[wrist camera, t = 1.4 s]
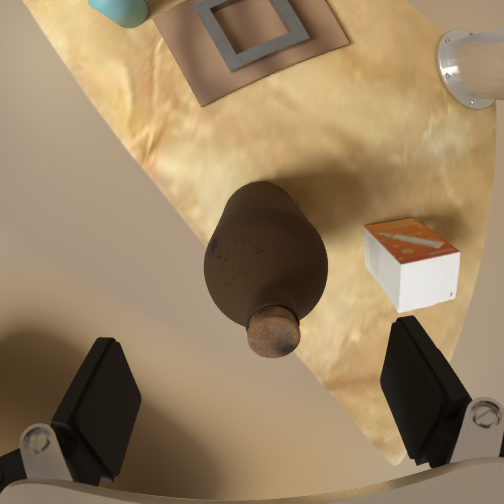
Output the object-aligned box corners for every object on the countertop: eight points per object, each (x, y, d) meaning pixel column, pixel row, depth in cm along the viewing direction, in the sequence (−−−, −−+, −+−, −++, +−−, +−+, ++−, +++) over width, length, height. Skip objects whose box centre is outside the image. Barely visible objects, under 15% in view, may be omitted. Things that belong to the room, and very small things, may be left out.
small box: (412, 216, 42) (462, 250, 30) (412, 256, 44) (456, 299, 32) (361, 224, 42) (400, 264, 30) (363, 266, 45) (398, 315, 33)
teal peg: (141, -6, 29) (117, -32, 21) (154, 16, 31) (131, -7, 23) (112, 11, 30) (83, -9, 22) (124, 34, 32) (95, 16, 23)
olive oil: (218, 254, 44) (191, 394, 20) (219, 175, 39) (178, 253, 16) (297, 256, 44) (342, 395, 21) (304, 179, 40) (377, 259, 17)
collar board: (295, -38, 28) (298, -48, 25) (346, 45, 33) (354, 39, 30) (154, 21, 31) (147, 14, 28) (202, 107, 36) (198, 105, 33)
